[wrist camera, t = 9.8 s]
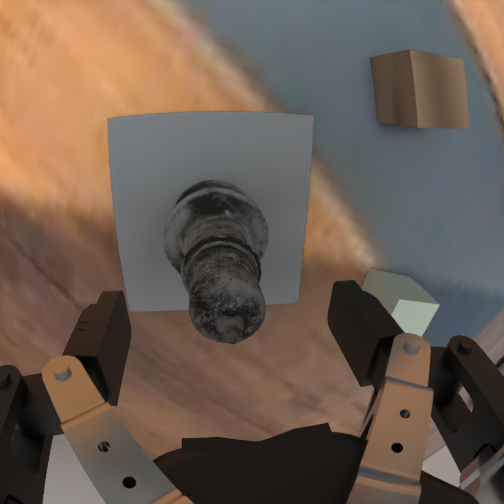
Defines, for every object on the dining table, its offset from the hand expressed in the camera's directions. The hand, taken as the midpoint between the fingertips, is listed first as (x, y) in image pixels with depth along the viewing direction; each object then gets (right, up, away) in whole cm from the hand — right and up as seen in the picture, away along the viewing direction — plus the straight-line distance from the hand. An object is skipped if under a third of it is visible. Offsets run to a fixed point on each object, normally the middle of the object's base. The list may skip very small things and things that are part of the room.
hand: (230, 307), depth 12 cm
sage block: (+13, -2, +16) cm, 20 cm away
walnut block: (+12, +14, +8) cm, 20 cm away
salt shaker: (-2, +4, +9) cm, 10 cm away
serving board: (-2, +5, +10) cm, 11 cm away
